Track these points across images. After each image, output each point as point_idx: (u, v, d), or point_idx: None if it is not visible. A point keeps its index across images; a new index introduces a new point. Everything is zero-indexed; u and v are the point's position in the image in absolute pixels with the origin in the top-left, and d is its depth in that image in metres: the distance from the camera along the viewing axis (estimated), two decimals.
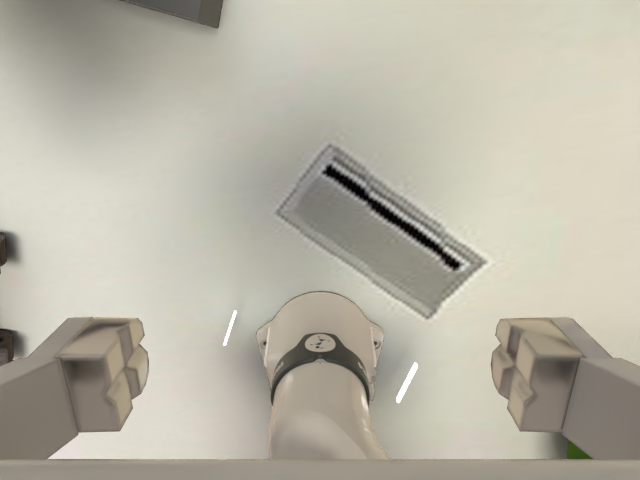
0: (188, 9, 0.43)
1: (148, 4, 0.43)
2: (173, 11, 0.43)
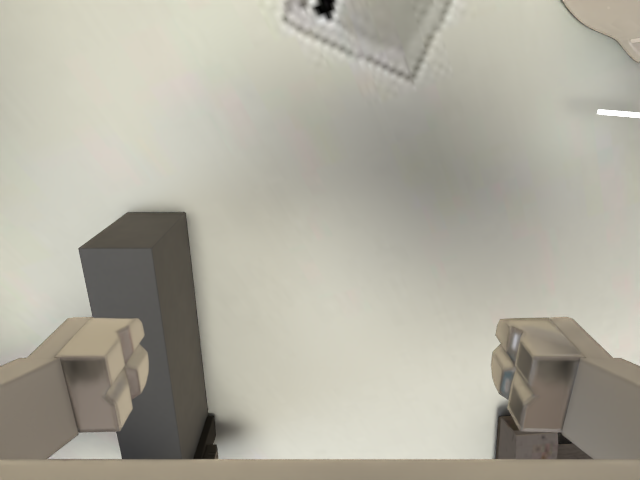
0: (144, 262, 0.33)
1: (158, 306, 0.34)
2: (154, 278, 0.33)
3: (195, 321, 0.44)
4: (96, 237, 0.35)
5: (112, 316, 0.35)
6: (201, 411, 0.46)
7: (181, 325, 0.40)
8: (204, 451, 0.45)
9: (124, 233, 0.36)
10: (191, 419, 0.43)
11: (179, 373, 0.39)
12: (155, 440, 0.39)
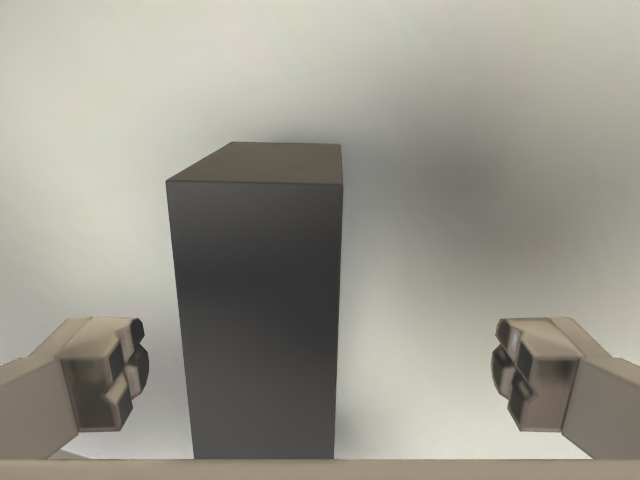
0: (319, 219, 0.14)
1: (334, 326, 0.15)
2: (336, 260, 0.14)
3: None
4: (196, 166, 0.16)
5: (227, 345, 0.15)
6: None
7: None
8: None
9: (252, 162, 0.16)
10: None
11: None
12: None
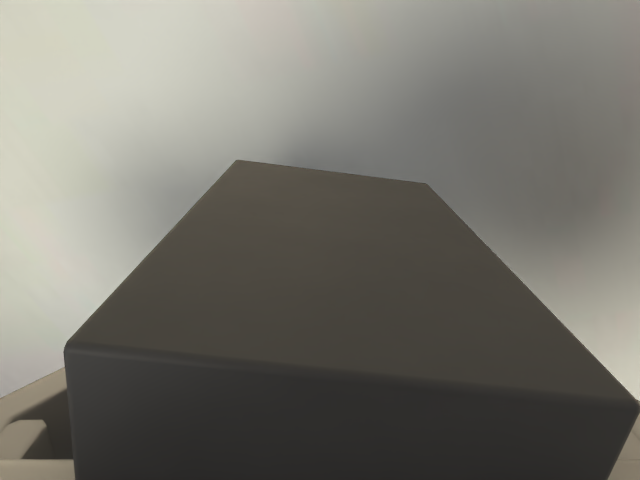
0: None
1: None
2: None
3: None
4: (172, 251, 0.06)
5: None
6: None
7: None
8: None
9: (306, 240, 0.07)
10: None
11: None
12: None
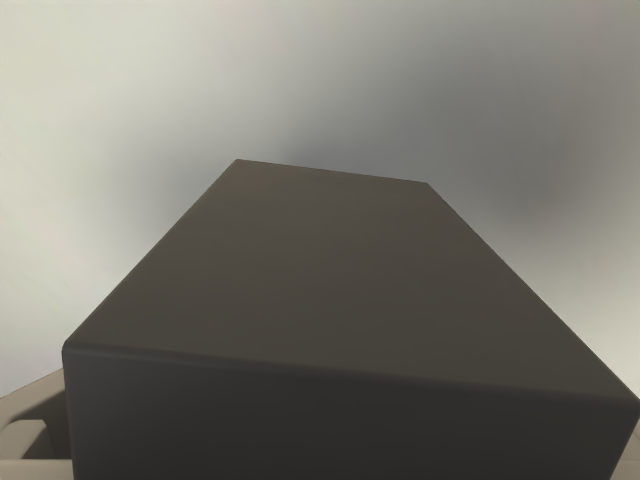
0: None
1: None
2: None
3: None
4: (172, 250, 0.06)
5: None
6: None
7: None
8: None
9: (306, 239, 0.07)
10: None
11: None
12: None
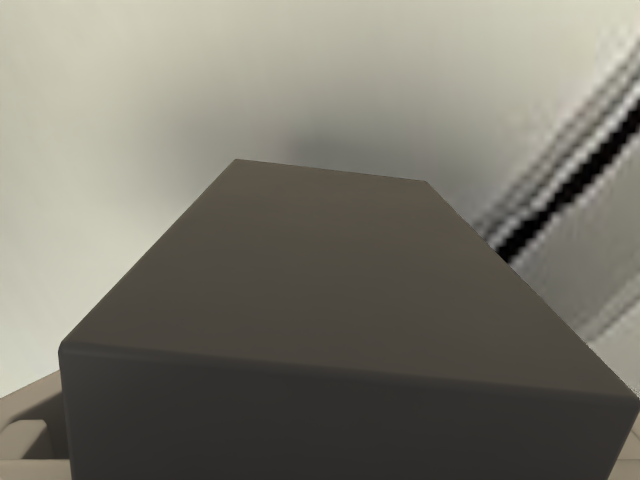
0: None
1: None
2: None
3: None
4: (169, 250, 0.06)
5: None
6: None
7: None
8: None
9: (303, 238, 0.07)
10: None
11: None
12: None
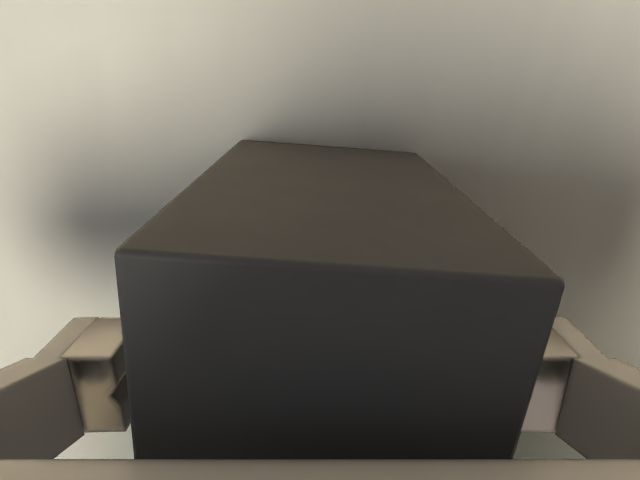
0: (492, 356, 0.06)
1: None
2: (511, 439, 0.06)
3: None
4: (190, 199, 0.07)
5: None
6: None
7: None
8: None
9: (301, 191, 0.08)
10: None
11: None
12: None
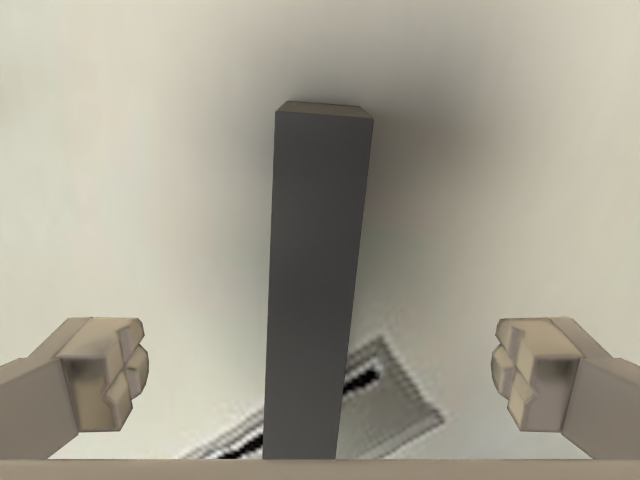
0: (359, 137, 0.25)
1: (362, 203, 0.26)
2: (366, 162, 0.25)
3: None
4: (284, 107, 0.26)
5: (298, 213, 0.26)
6: None
7: None
8: None
9: (314, 109, 0.27)
10: None
11: None
12: (312, 388, 0.31)
